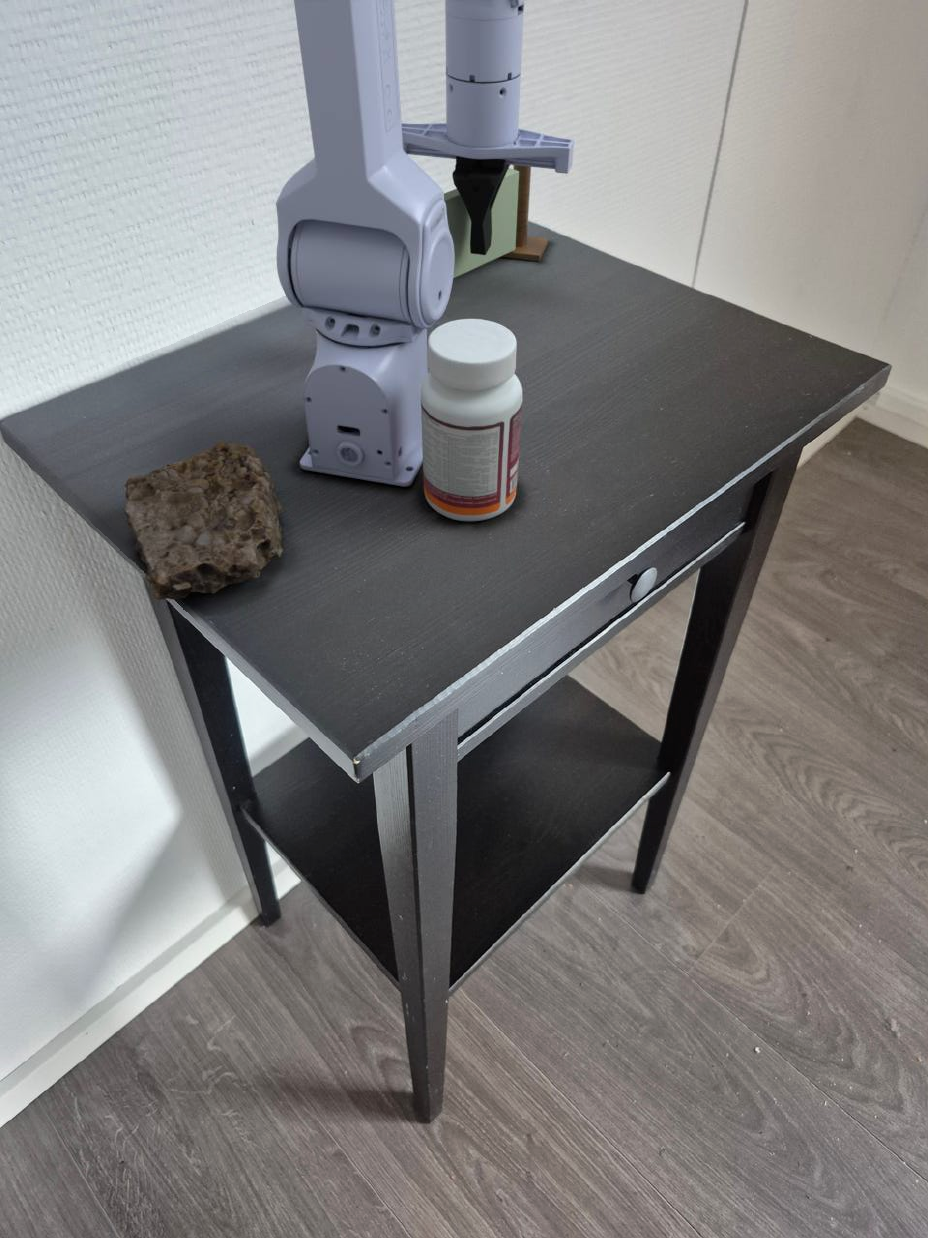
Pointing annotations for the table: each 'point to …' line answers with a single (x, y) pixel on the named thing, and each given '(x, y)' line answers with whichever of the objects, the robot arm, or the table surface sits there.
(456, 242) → the door
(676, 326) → the table surface
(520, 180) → the wooden stand
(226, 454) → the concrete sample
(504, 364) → the pill bottle
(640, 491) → the table surface
